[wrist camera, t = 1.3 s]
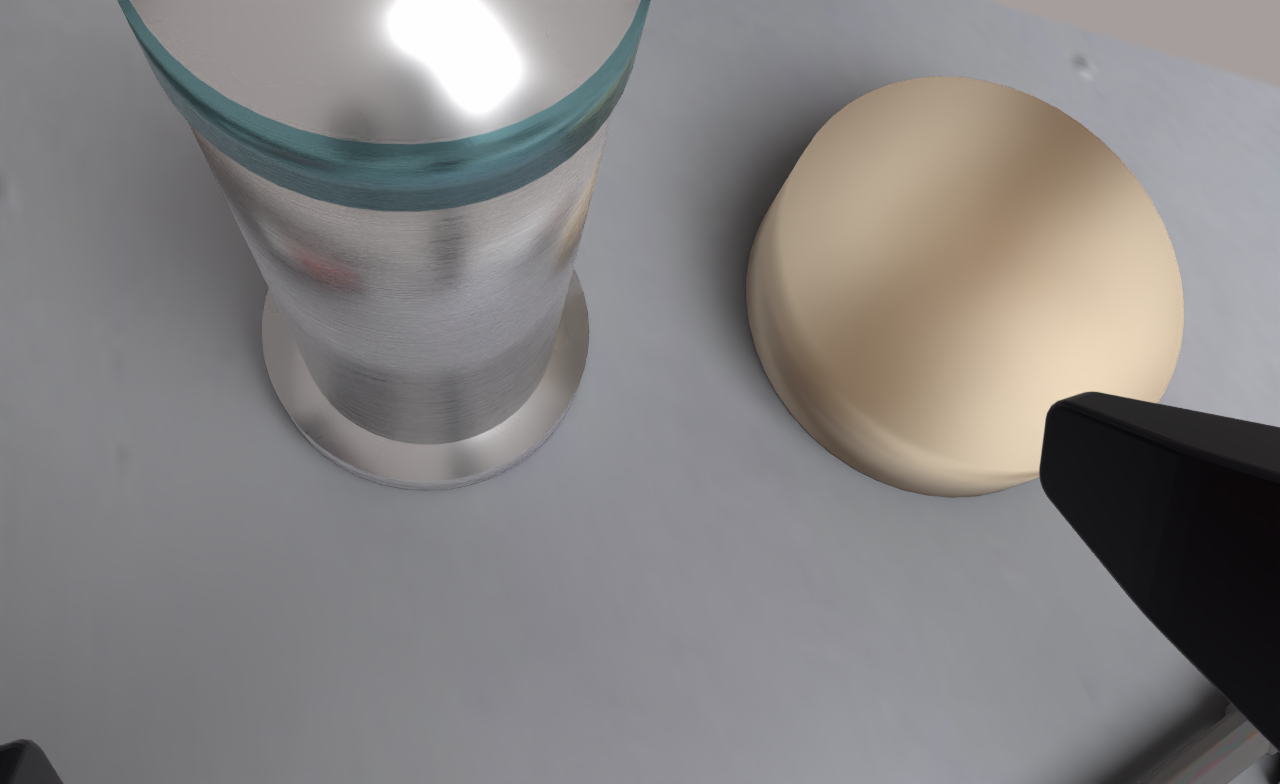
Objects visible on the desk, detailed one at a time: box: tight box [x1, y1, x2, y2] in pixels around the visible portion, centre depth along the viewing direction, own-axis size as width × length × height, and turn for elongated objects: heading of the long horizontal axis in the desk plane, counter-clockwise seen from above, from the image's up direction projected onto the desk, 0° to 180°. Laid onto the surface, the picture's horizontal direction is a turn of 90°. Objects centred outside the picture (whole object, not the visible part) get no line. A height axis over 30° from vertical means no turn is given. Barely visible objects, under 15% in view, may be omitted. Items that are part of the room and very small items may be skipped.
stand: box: [746, 76, 1184, 497], centre depth 23 cm, size 10×10×3 cm
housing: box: [118, 0, 650, 491], centre depth 16 cm, size 7×7×13 cm
